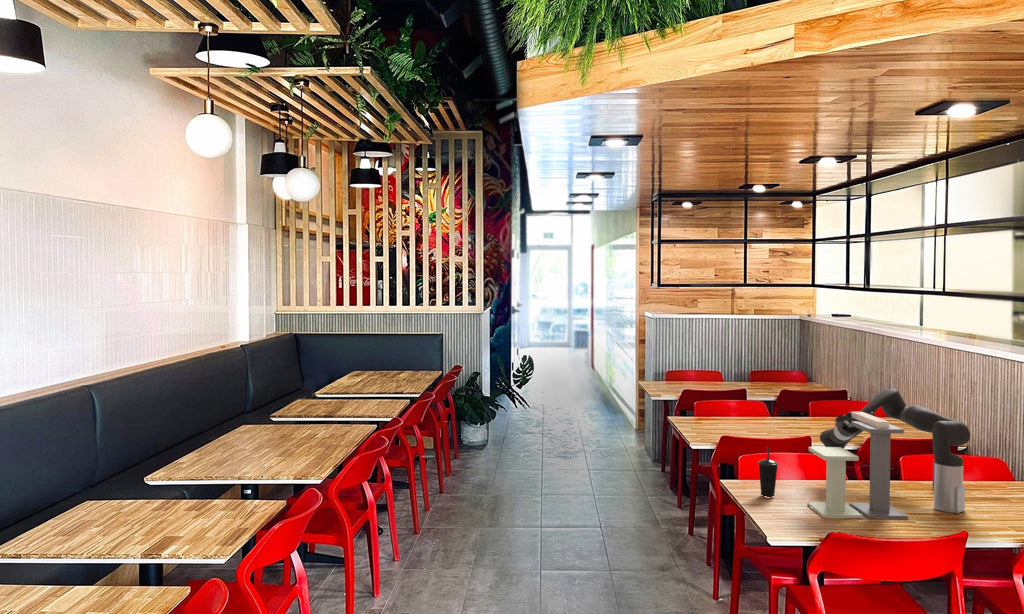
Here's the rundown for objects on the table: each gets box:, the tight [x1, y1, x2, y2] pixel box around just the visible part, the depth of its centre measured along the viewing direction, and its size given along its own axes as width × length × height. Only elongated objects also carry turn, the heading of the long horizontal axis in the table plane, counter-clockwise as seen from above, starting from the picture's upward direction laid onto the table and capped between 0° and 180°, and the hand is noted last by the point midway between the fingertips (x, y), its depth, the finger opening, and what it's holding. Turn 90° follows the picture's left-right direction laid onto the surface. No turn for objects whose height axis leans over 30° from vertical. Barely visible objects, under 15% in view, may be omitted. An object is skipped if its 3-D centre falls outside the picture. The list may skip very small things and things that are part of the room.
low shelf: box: [807, 446, 864, 519], centre depth 273 cm, size 18×14×22 cm
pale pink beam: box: [850, 411, 890, 428], centre depth 279 cm, size 22×4×2 cm, turn 178°
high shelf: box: [849, 421, 909, 520], centre depth 272 cm, size 18×14×32 cm
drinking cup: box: [757, 446, 779, 497], centre depth 292 cm, size 8×8×20 cm
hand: (861, 414), depth 285 cm, fingers open, 8 cm apart
